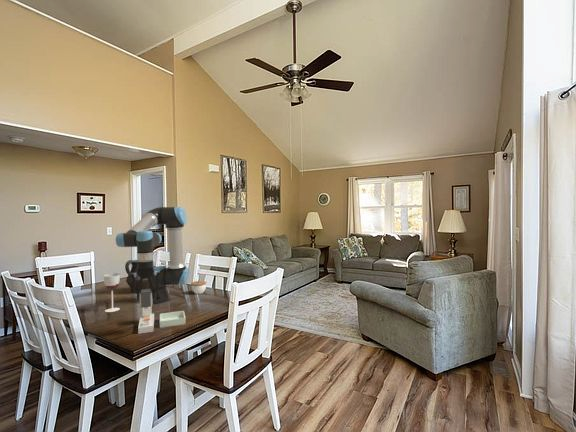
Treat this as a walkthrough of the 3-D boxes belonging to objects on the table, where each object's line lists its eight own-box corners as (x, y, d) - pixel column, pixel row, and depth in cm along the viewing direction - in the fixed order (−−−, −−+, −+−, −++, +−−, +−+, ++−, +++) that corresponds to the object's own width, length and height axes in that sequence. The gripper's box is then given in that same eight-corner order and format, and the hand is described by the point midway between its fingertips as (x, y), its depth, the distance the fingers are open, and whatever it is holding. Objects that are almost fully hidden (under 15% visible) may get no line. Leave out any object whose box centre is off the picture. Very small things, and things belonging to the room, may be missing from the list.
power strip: (141, 316, 177) (141, 309, 177) (154, 315, 179) (154, 308, 179) (138, 333, 153) (138, 325, 153) (153, 331, 155) (153, 323, 155)
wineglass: (103, 313, 183) (103, 277, 183) (104, 308, 192) (104, 274, 191) (120, 310, 187) (119, 275, 187) (120, 306, 196) (120, 272, 195)
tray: (159, 328, 160) (159, 321, 160) (159, 319, 172) (159, 313, 172) (185, 324, 165) (185, 318, 165) (184, 316, 177) (183, 310, 177)
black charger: (141, 307, 159) (141, 289, 158) (151, 306, 161) (150, 288, 160) (141, 310, 154) (140, 292, 154) (150, 309, 156) (150, 291, 156)
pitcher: (161, 289, 236) (160, 258, 236) (134, 296, 218) (133, 262, 217) (145, 286, 247) (145, 255, 247) (118, 292, 229) (118, 259, 228)
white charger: (143, 315, 171) (142, 298, 170) (151, 314, 172) (151, 297, 172) (142, 318, 166) (142, 301, 166) (151, 317, 168) (151, 300, 168)
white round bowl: (193, 291, 232) (193, 279, 232) (207, 290, 233) (207, 278, 233) (189, 295, 221) (189, 282, 221) (204, 294, 222) (204, 282, 222)
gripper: (125, 263, 150) (126, 309, 151) (163, 260, 156) (164, 305, 157) (126, 260, 157) (128, 305, 157) (163, 258, 163) (164, 300, 164)
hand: (146, 305), depth 157 cm, fingers closed on black charger, 4 cm apart
